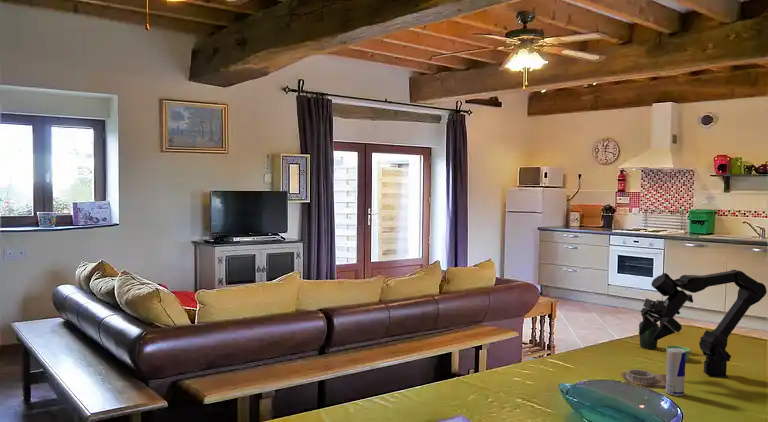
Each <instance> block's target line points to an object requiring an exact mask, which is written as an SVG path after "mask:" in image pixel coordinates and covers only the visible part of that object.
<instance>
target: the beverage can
mask: <svg viewBox="0 0 768 422" xmlns="http://www.w3.org/2000/svg"><path fill="white" fill-rule="evenodd" d="M685 359H686V353H685V350H682V349H678V348H668V351H666V370H665V371H666V372H665V373H666V374H665V375H666V388H665V393H666V394H668V395H670V396H674V397H682V396H684V394H685V381H686V380H685V379H686V361H685Z"/></svg>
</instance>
